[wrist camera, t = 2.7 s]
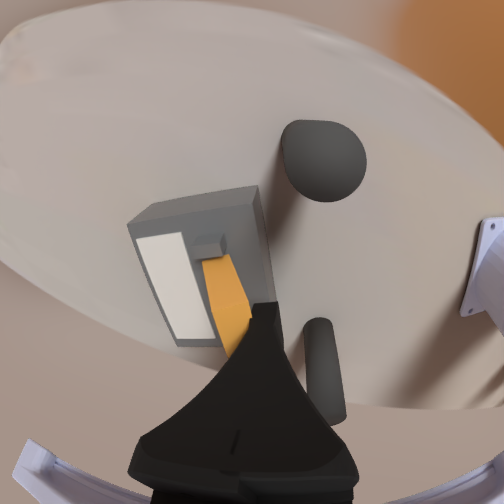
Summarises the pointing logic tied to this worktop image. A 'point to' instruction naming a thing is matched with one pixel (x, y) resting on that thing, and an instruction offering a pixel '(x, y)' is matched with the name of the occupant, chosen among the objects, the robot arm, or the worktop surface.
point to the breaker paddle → (227, 301)
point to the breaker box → (202, 256)
